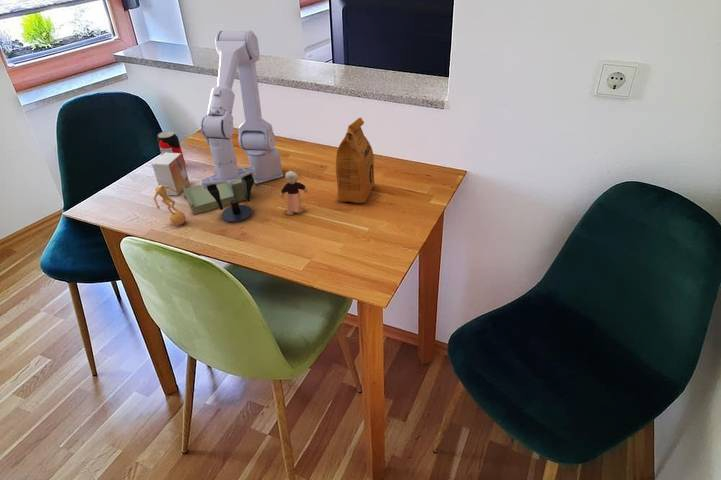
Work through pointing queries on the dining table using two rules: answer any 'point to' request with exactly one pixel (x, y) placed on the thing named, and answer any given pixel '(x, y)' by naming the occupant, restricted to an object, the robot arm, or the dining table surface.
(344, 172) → the coffee package
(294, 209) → the grandmother figurine
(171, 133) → the beverage can
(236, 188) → the green step block
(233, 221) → the lid
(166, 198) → the figurine
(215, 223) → the dining table surface
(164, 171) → the small box
